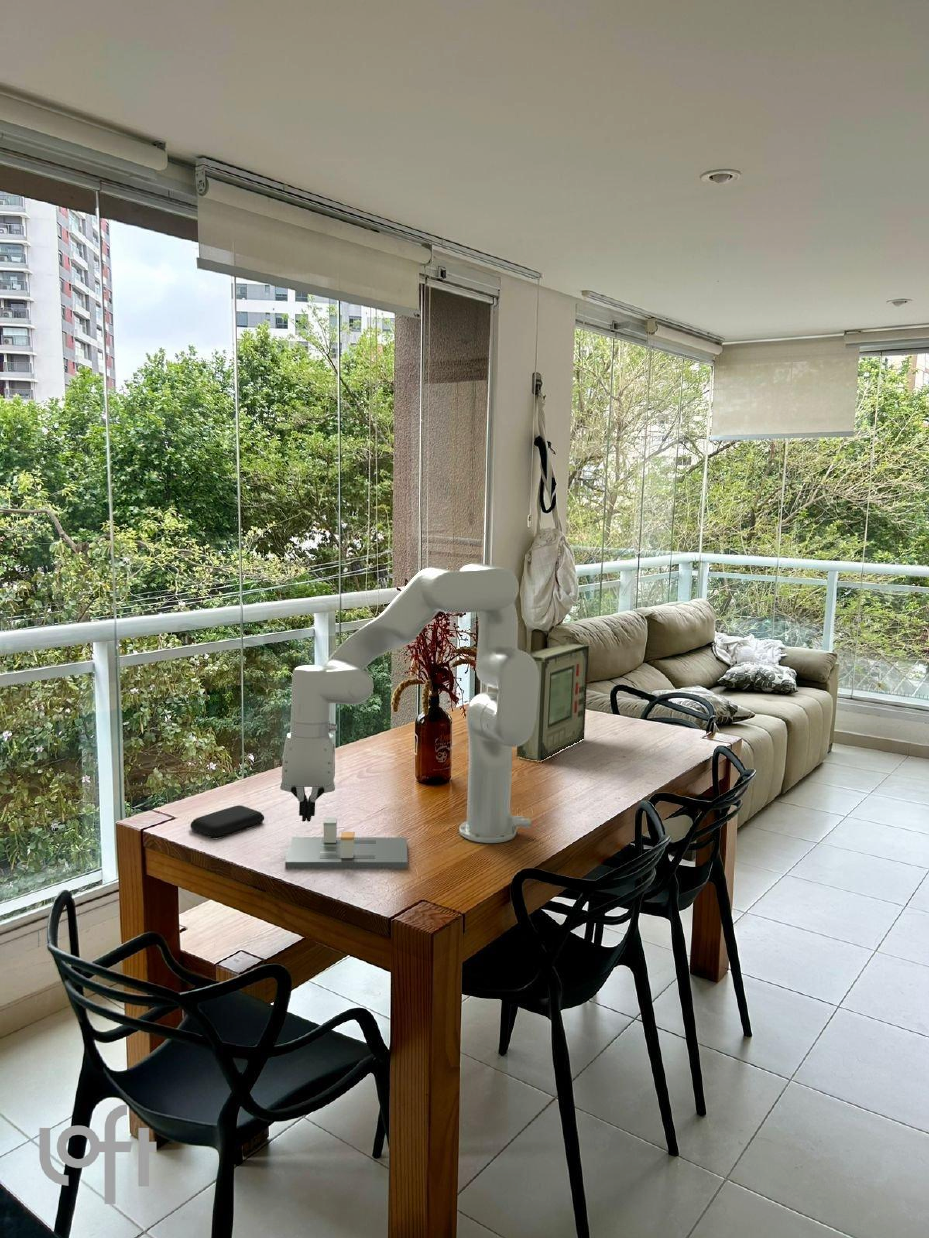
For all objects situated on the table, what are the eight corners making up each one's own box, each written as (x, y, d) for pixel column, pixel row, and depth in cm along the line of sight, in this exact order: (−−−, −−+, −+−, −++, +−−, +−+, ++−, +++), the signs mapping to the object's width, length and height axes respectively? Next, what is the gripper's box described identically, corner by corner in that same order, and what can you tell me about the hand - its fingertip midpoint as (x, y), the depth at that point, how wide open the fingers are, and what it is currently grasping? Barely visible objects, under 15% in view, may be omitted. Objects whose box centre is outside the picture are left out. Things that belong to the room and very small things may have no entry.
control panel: (540, 763, 255) (544, 658, 251) (516, 758, 259) (521, 655, 255) (583, 740, 280) (588, 645, 276) (562, 736, 284) (566, 642, 280)
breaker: (336, 837, 190) (337, 817, 190) (335, 842, 187) (336, 822, 187) (324, 836, 190) (324, 817, 189) (323, 842, 187) (323, 822, 186)
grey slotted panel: (406, 844, 193) (406, 837, 192) (407, 869, 180) (407, 861, 179) (292, 843, 191) (292, 836, 190) (285, 869, 178) (285, 861, 178)
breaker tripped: (354, 851, 183) (354, 831, 182) (353, 858, 180) (353, 837, 179) (341, 851, 182) (341, 831, 182) (340, 858, 179) (340, 837, 179)
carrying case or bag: (237, 813, 209) (183, 830, 197) (237, 800, 208) (183, 817, 197) (268, 824, 202) (214, 843, 191) (268, 811, 202) (214, 829, 190)
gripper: (349, 725, 181) (345, 813, 183) (273, 722, 180) (271, 811, 182) (347, 735, 174) (343, 826, 176) (268, 732, 172) (265, 824, 175)
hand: (306, 819), depth 179 cm, fingers closed
